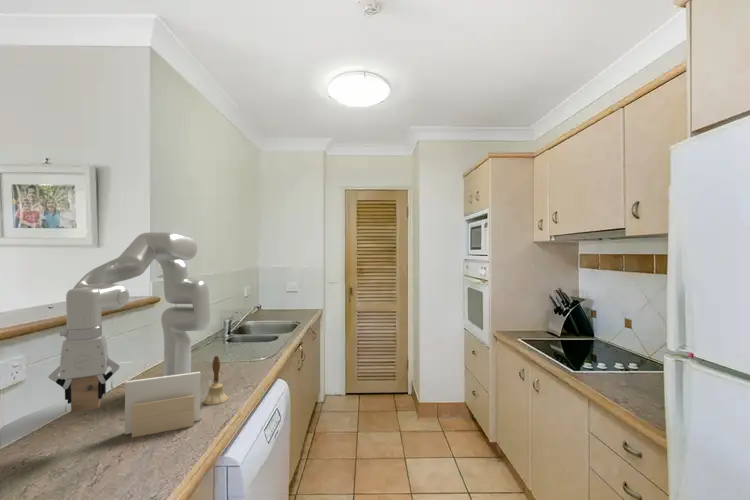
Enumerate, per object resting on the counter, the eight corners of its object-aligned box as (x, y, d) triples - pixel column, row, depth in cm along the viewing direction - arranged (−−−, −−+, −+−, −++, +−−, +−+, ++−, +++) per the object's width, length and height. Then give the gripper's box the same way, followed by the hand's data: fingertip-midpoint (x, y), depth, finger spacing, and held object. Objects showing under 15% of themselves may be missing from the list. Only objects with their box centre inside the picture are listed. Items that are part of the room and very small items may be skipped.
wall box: (77, 401, 108) (77, 366, 108) (103, 397, 111) (102, 363, 111) (70, 413, 100) (69, 376, 100) (98, 409, 103) (97, 372, 103)
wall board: (125, 432, 112) (125, 381, 113) (199, 418, 122) (200, 371, 122) (123, 439, 108) (124, 386, 108) (200, 424, 118) (201, 375, 118)
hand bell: (233, 397, 140) (233, 354, 140) (216, 406, 132) (217, 360, 132) (214, 395, 142) (215, 352, 142) (197, 403, 134) (198, 357, 135)
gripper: (39, 340, 96) (40, 411, 96) (121, 332, 104) (122, 398, 104) (47, 334, 102) (49, 400, 103) (124, 327, 111) (125, 388, 111)
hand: (86, 398), depth 104 cm, fingers closed on wall box, 6 cm apart
